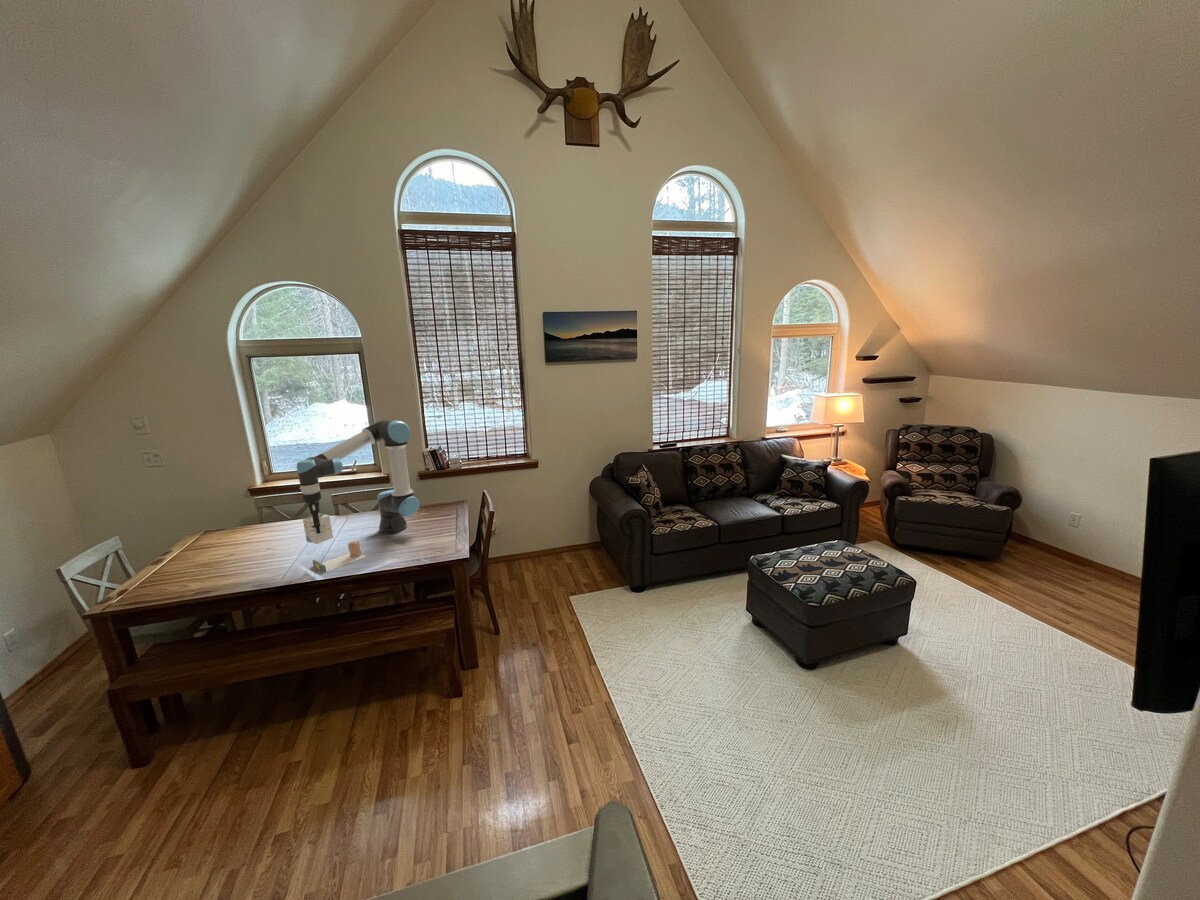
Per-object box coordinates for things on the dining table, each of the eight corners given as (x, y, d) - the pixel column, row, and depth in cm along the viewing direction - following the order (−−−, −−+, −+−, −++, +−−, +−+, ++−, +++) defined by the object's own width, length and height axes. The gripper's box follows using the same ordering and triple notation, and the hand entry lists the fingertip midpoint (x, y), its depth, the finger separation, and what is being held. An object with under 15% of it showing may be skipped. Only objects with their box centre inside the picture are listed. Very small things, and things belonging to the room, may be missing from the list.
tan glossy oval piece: (358, 552, 243) (356, 540, 241) (363, 555, 240) (360, 542, 238) (348, 556, 239) (346, 543, 238) (353, 558, 236) (350, 545, 235)
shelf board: (355, 554, 245) (354, 545, 244) (366, 559, 238) (365, 551, 237) (313, 569, 230) (311, 560, 229) (323, 575, 222) (322, 566, 222)
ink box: (306, 541, 229) (300, 515, 226) (322, 535, 236) (317, 509, 233) (317, 544, 225) (312, 517, 222) (333, 537, 232) (329, 511, 229)
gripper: (301, 488, 233) (310, 530, 238) (302, 500, 213) (311, 545, 218) (319, 485, 237) (327, 526, 242) (321, 496, 217) (329, 541, 222)
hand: (319, 535), depth 230 cm, fingers closed on ink box, 11 cm apart
